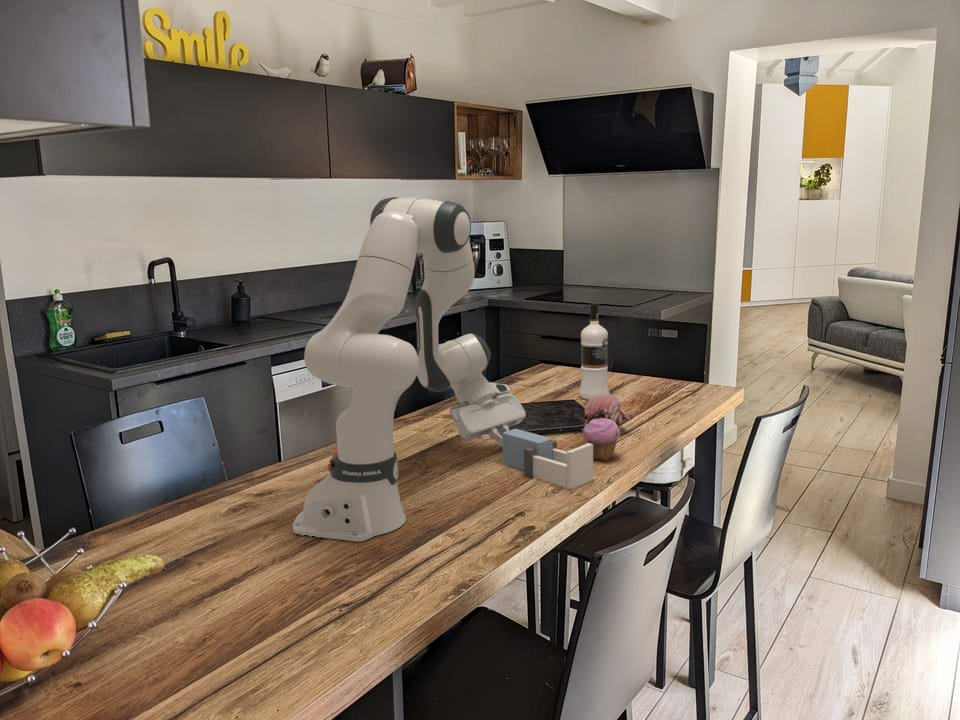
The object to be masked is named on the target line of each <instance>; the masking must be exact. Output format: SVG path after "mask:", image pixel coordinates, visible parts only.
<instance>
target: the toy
mask: <svg viewBox="0 0 960 720" xmlns="http://www.w3.org/2000/svg"><path fill="white" fill-rule="evenodd" d="M581 417H582V418H583V419H585V421H584V426H585V425H586V424H588V423H589V422H590V421H591V420H593V419H600V418H606V419H611V420H613V421H614V422H615V423H616V424H617V426H618V427H619V424H622V421H629V422H630V421H632V420H631V419H630V417H629V416H628V415H627V414H626V412H625V410H624V408H623V407H622V404H621V402H620V400H619V399H618V398H617V396H615V395H613V394H610V393H609V394H608V393H604V394H598V395H595V396H594V397H592V398H591V399H590V400H587V402H586V405H585V407H584V414H582V415H581Z"/></svg>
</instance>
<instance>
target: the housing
mask: <svg viewBox="0 0 960 720" xmlns="http://www.w3.org/2000/svg"><path fill="white" fill-rule="evenodd" d="M552 441H553V460H551V459H547V458H544V457H540V456H537V455H536V449H534V448H531V447H529V448H526V449H524V470H523V473H524V474H523V477H527V478H530V479H531V478H535V479H538V480H540V481H545V482H547V483H550V484H553V485H556V486H558V487H559V486H560V487H562V488H566V489H569V490H573V489H575V488H578V487H580V486H582V485H585V484H588V483H589V482H591V481H594V459H593V444H590V443H588V442H587V443H585V444H583V445H581V446H578V447H574V448H572V449H570V450H567V451H566V450H562V449H558V440H557V441H556V440H553V439H552Z"/></svg>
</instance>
